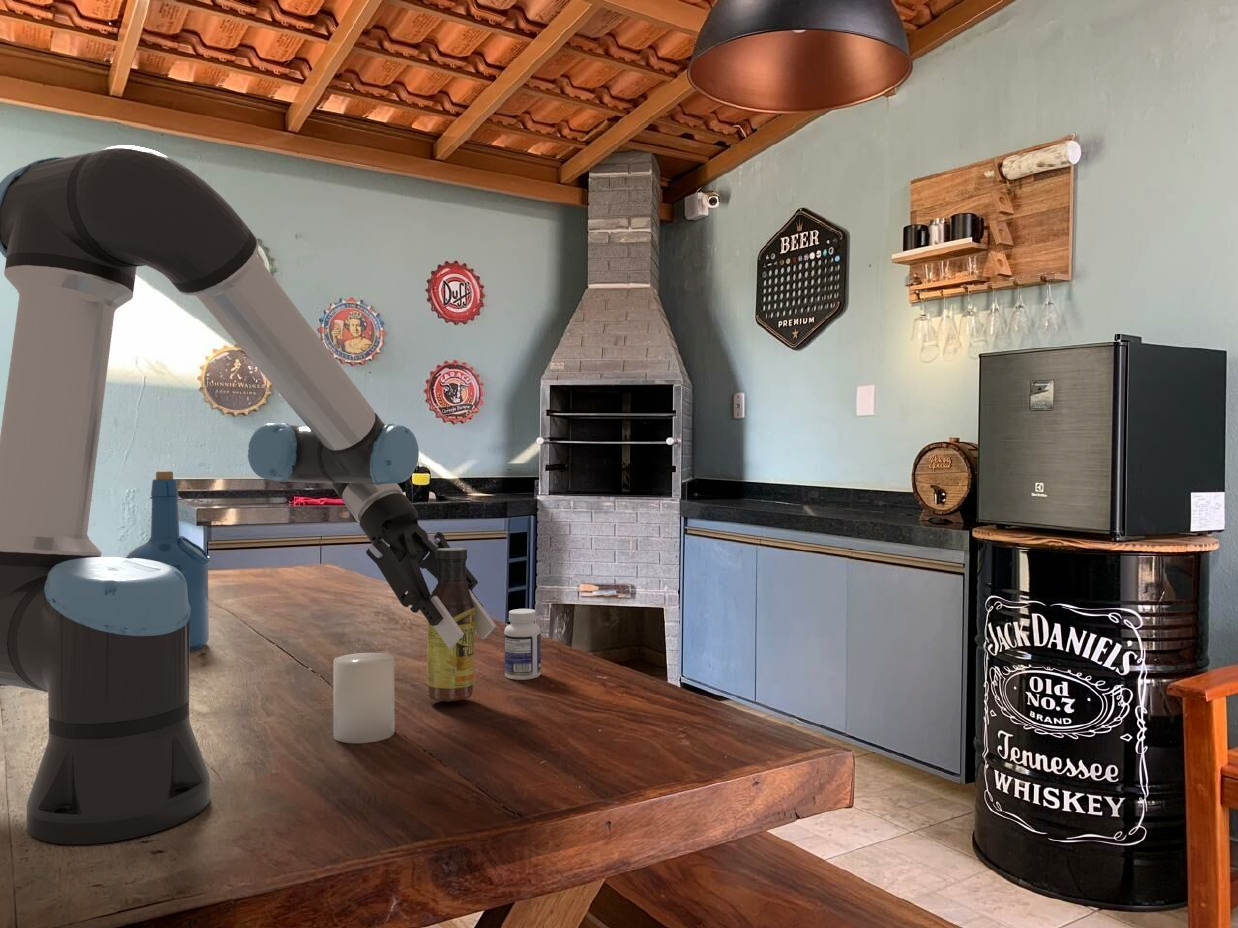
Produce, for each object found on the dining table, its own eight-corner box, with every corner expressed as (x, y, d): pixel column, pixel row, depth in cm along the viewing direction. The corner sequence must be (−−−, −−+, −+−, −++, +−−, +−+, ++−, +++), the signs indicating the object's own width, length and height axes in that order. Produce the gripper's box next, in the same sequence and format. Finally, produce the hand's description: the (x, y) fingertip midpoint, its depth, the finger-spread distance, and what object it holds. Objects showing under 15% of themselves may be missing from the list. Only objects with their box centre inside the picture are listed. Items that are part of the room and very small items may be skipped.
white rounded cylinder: (402, 737, 110) (402, 661, 110) (342, 746, 106) (342, 668, 106) (384, 722, 116) (384, 650, 116) (327, 731, 112) (326, 656, 112)
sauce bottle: (464, 704, 121) (464, 552, 121) (419, 701, 122) (419, 550, 122) (481, 691, 127) (481, 546, 127) (438, 688, 129) (438, 545, 128)
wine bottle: (112, 660, 149) (110, 472, 148) (132, 643, 162) (130, 470, 161) (205, 654, 153) (203, 471, 152) (217, 638, 165) (215, 469, 165)
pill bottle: (522, 669, 143) (522, 606, 143) (548, 675, 139) (548, 610, 139) (496, 676, 139) (496, 611, 138) (522, 682, 135) (522, 615, 135)
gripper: (413, 522, 141) (500, 642, 133) (315, 531, 124) (408, 668, 116) (440, 488, 138) (531, 608, 130) (344, 492, 121) (441, 630, 113)
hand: (473, 636), depth 123 cm, fingers closed on sauce bottle, 6 cm apart
